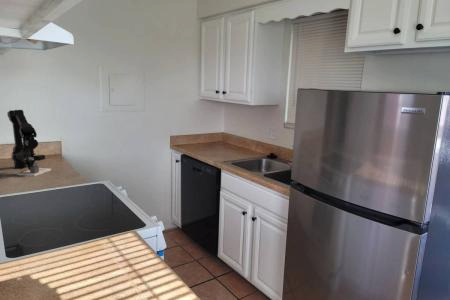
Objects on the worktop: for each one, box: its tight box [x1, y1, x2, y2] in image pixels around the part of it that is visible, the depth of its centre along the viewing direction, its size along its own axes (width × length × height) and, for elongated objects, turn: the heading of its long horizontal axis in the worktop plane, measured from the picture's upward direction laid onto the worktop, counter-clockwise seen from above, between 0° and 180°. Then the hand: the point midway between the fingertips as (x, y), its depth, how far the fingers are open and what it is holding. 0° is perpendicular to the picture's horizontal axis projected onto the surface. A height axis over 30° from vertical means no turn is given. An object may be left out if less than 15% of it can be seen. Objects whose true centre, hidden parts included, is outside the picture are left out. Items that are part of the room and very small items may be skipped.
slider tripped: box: [30, 164, 40, 173], centre depth 211 cm, size 3×4×4 cm
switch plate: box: [16, 167, 52, 177], centre depth 216 cm, size 12×16×1 cm
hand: (30, 170), depth 212 cm, fingers closed
